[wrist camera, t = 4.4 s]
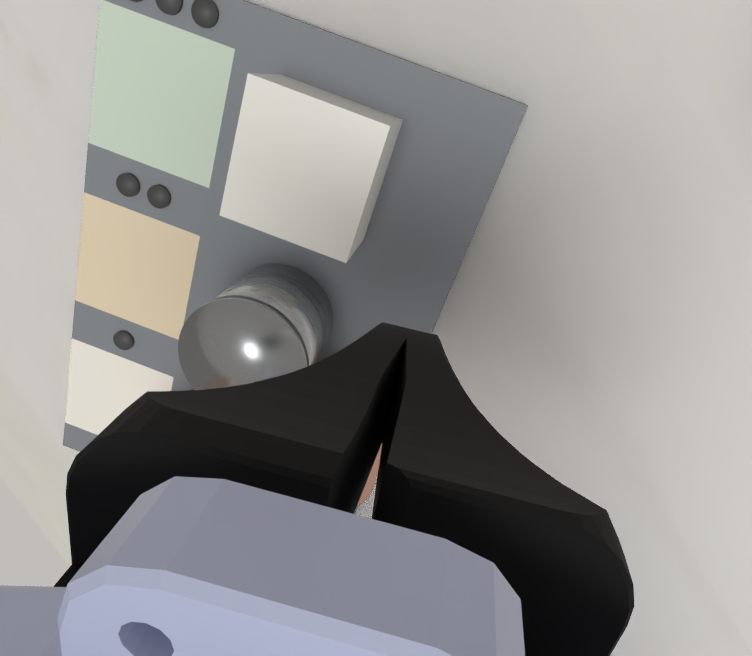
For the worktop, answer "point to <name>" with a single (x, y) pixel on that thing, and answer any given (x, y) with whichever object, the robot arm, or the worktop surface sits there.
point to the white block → (307, 164)
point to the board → (208, 178)
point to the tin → (256, 329)
